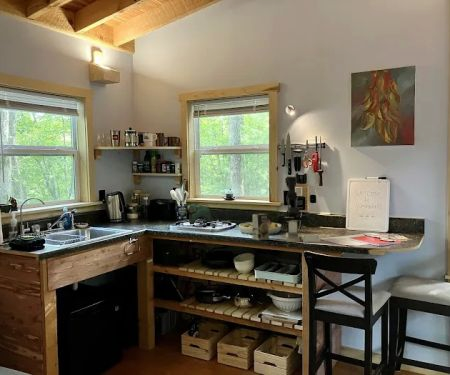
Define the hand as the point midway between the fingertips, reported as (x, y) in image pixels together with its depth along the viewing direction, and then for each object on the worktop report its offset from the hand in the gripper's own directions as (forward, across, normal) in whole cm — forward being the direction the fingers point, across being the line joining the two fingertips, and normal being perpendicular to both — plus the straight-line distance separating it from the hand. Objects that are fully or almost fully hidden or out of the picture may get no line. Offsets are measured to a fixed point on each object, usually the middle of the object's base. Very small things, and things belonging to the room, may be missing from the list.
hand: (292, 229), depth 260 cm
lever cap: (+2, 0, +4) cm, 5 cm away
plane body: (+1, 0, +8) cm, 9 cm away
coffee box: (+2, -20, +8) cm, 22 cm away
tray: (+3, +11, +6) cm, 13 cm away
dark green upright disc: (-37, -70, +46) cm, 92 cm away
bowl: (-18, -22, +28) cm, 40 cm away
